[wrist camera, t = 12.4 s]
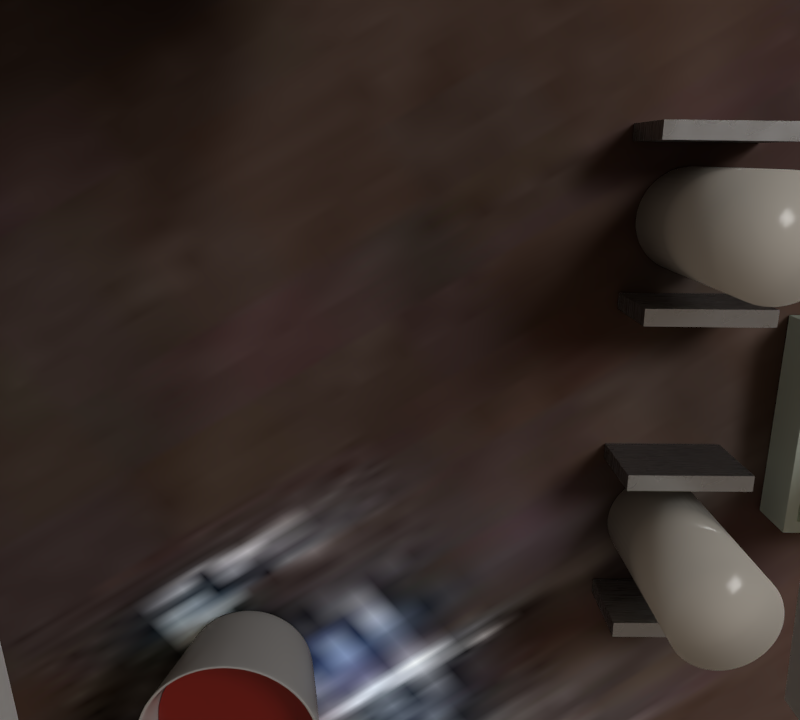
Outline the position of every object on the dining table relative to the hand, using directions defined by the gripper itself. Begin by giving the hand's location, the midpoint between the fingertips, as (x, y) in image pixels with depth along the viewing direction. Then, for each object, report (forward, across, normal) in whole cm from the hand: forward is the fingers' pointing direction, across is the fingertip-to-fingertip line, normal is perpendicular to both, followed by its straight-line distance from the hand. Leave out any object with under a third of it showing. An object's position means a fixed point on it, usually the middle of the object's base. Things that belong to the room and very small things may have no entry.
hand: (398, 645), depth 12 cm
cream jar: (+26, +14, +4) cm, 30 cm away
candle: (+26, -9, -20) cm, 34 cm away
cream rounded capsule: (+26, +14, -12) cm, 32 cm away
